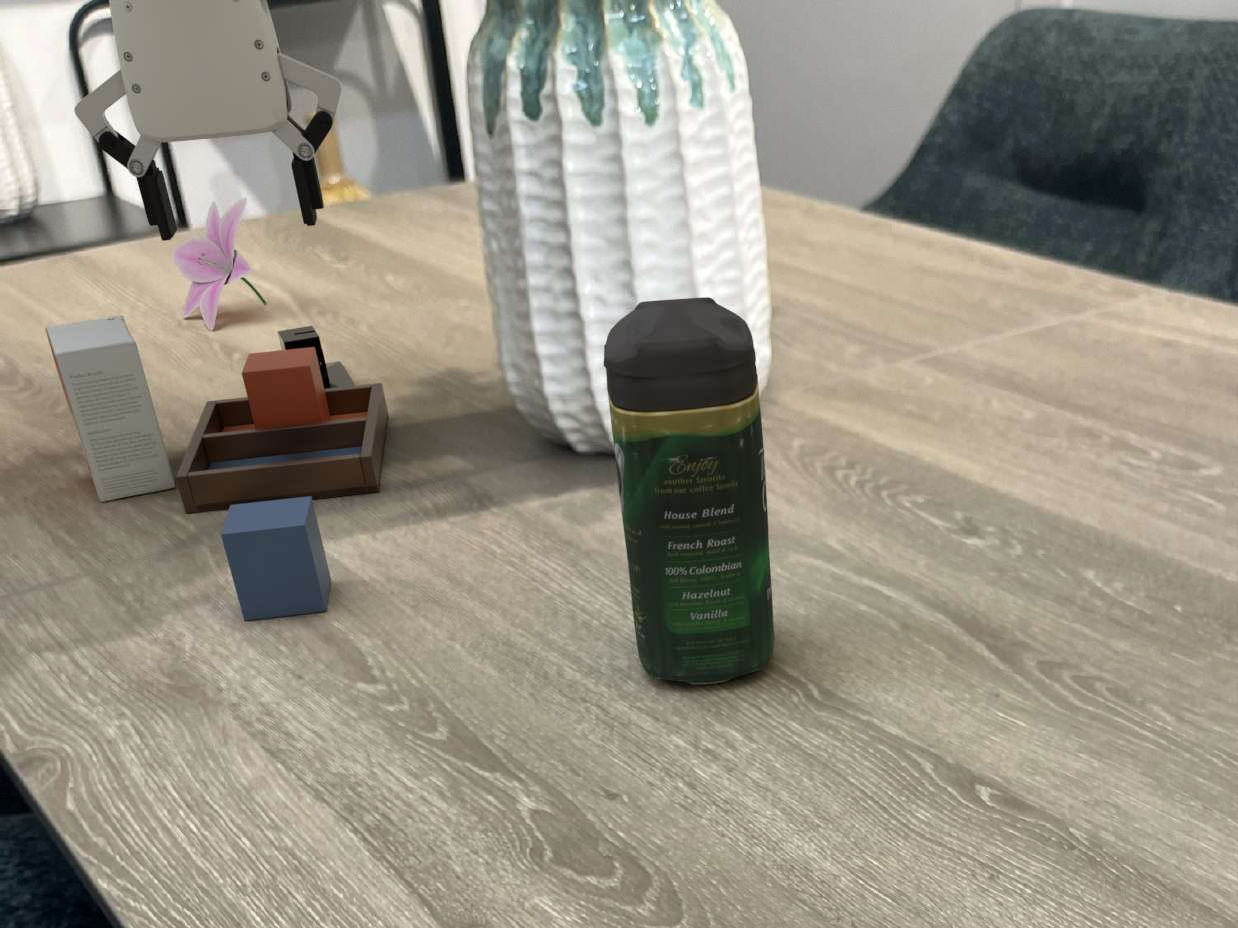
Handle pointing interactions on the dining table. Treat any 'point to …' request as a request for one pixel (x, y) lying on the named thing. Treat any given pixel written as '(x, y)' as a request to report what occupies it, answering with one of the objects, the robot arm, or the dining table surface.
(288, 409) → the terracotta block
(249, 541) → the blue block
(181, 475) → the sorting tray
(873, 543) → the dining table surface
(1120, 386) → the dining table surface
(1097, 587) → the dining table surface
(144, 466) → the small box
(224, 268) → the lily
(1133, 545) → the dining table surface
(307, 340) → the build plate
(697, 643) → the coffee jar
